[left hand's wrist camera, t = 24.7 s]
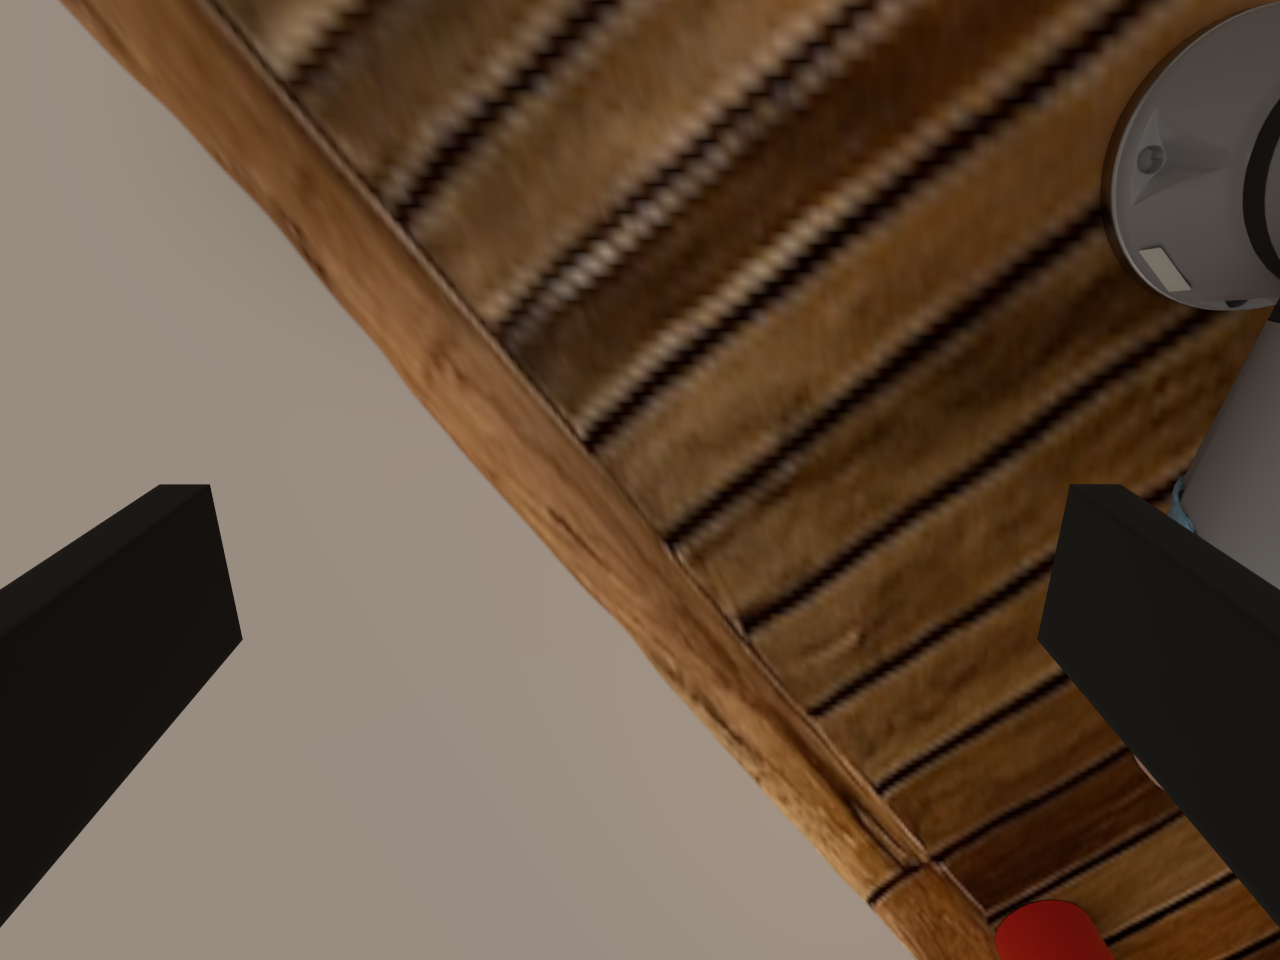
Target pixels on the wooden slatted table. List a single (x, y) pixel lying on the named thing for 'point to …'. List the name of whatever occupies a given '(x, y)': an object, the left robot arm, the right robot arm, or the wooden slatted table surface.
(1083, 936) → the tin
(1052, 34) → the wooden slatted table surface
